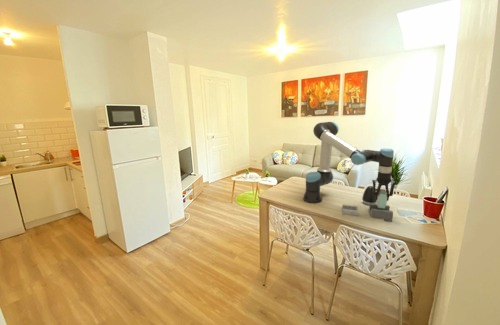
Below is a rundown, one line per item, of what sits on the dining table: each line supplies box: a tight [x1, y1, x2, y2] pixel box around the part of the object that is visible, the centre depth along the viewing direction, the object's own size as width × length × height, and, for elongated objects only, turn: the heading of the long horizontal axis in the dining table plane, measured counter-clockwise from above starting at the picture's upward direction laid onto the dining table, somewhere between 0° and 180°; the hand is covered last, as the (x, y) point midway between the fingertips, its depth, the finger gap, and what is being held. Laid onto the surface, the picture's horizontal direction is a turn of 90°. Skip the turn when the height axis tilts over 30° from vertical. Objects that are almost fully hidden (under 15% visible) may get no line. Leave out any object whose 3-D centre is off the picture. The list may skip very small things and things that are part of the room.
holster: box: [341, 204, 360, 217], centre depth 150 cm, size 10×10×4 cm
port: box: [368, 203, 394, 223], centre depth 144 cm, size 12×12×7 cm
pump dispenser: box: [361, 185, 377, 206], centre depth 161 cm, size 10×10×15 cm
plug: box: [377, 188, 387, 208], centre depth 141 cm, size 4×5×12 cm
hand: (381, 204), depth 142 cm, fingers closed on plug, 4 cm apart
